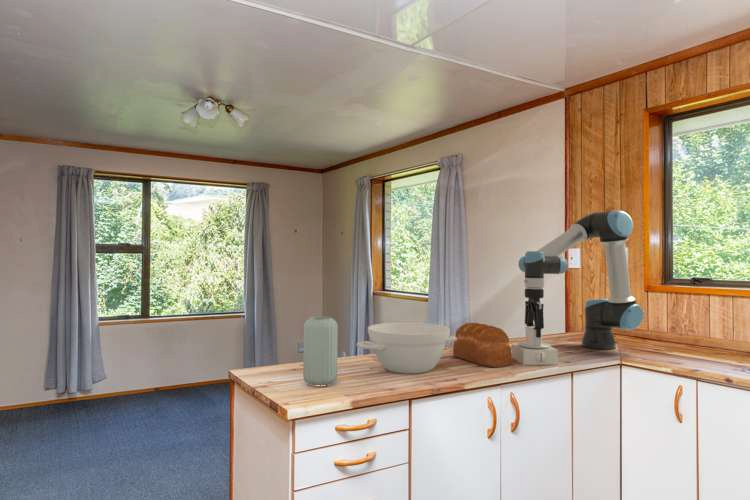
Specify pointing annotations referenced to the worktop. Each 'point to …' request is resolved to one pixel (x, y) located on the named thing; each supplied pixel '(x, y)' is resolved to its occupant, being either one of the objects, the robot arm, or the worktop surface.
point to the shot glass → (530, 335)
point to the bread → (482, 345)
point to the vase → (320, 350)
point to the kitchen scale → (535, 354)
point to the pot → (408, 345)
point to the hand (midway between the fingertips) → (533, 343)
